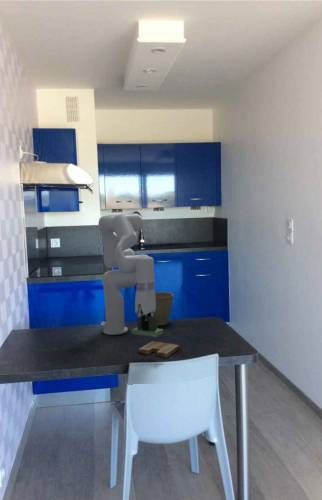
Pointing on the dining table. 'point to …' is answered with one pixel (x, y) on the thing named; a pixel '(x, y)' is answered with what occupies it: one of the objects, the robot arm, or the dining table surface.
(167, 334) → the dining table surface
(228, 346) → the dining table surface
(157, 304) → the plant pot
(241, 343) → the dining table surface
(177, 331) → the dining table surface
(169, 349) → the notched brown wooden block
